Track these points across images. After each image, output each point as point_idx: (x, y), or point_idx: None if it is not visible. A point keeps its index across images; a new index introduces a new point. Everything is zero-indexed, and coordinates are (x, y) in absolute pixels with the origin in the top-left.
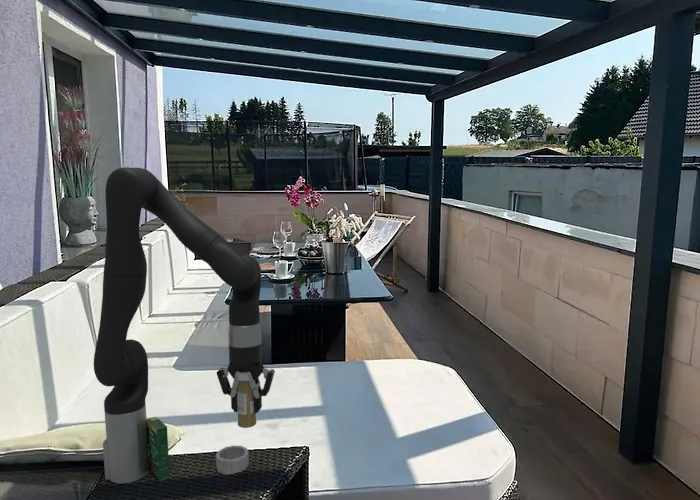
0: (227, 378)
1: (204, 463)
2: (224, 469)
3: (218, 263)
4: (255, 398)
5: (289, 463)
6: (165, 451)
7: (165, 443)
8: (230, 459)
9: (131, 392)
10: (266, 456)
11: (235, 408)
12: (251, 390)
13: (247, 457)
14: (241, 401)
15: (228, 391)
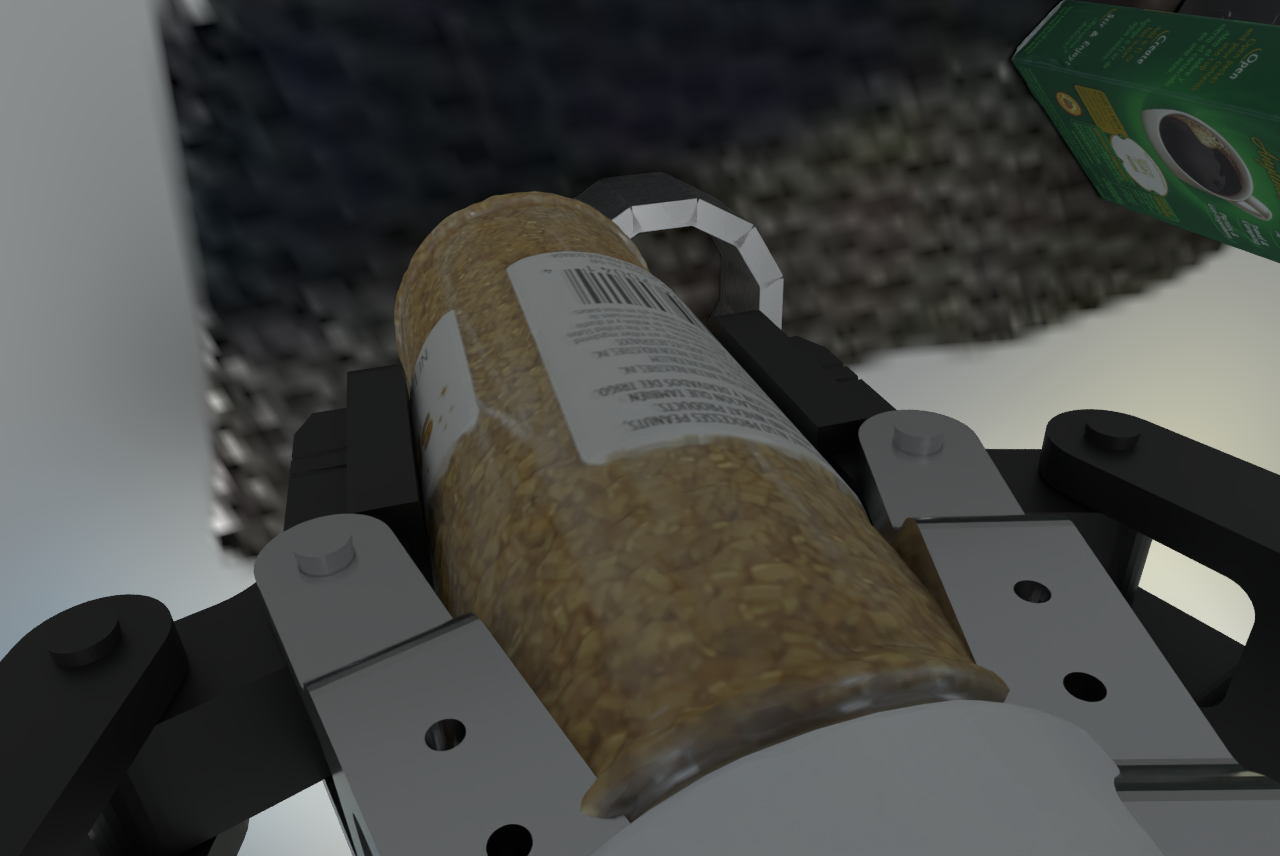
0: (1271, 778)
1: (837, 280)
2: (665, 180)
3: None
4: (382, 519)
5: (227, 421)
6: (1181, 70)
7: (1238, 85)
8: None
9: None
10: None
11: (747, 331)
12: (487, 608)
13: None
14: (660, 344)
15: (1049, 487)
